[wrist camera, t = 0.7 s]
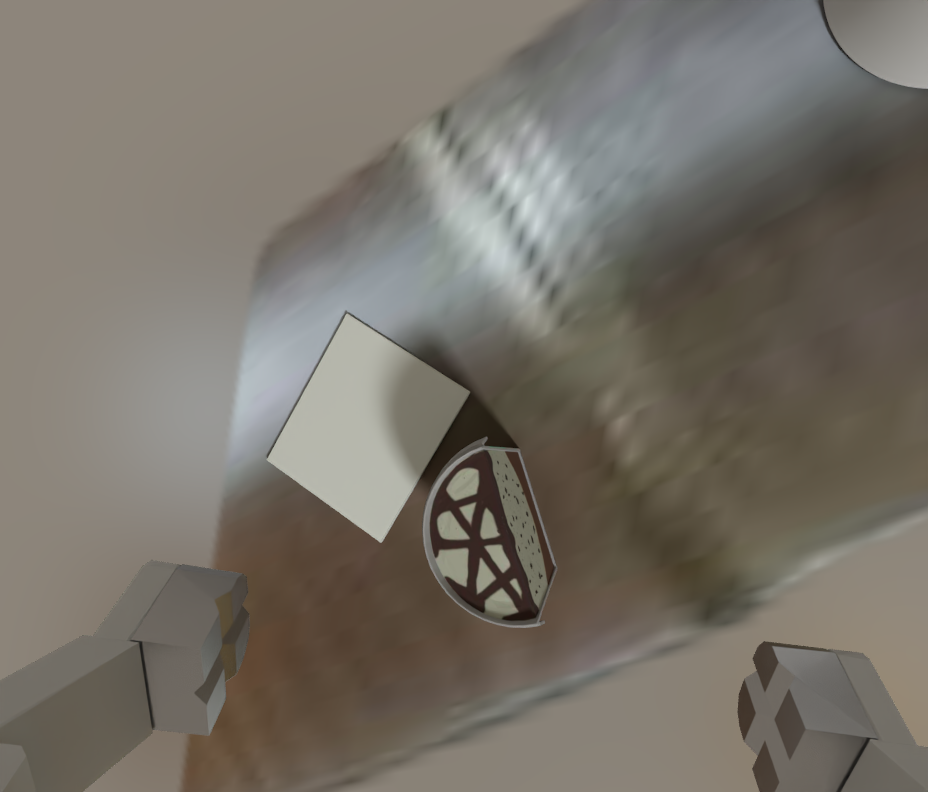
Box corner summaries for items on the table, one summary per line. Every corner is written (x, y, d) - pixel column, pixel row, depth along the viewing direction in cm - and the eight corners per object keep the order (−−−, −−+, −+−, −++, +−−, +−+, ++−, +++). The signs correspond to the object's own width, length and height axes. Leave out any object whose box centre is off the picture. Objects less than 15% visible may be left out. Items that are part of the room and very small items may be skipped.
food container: (439, 452, 55) (390, 466, 46) (513, 429, 54) (478, 438, 44) (487, 607, 54) (447, 654, 45) (563, 588, 53) (539, 633, 43)
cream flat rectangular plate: (348, 313, 57) (346, 313, 57) (470, 391, 54) (469, 392, 54) (268, 459, 59) (266, 459, 59) (382, 541, 57) (380, 542, 56)
